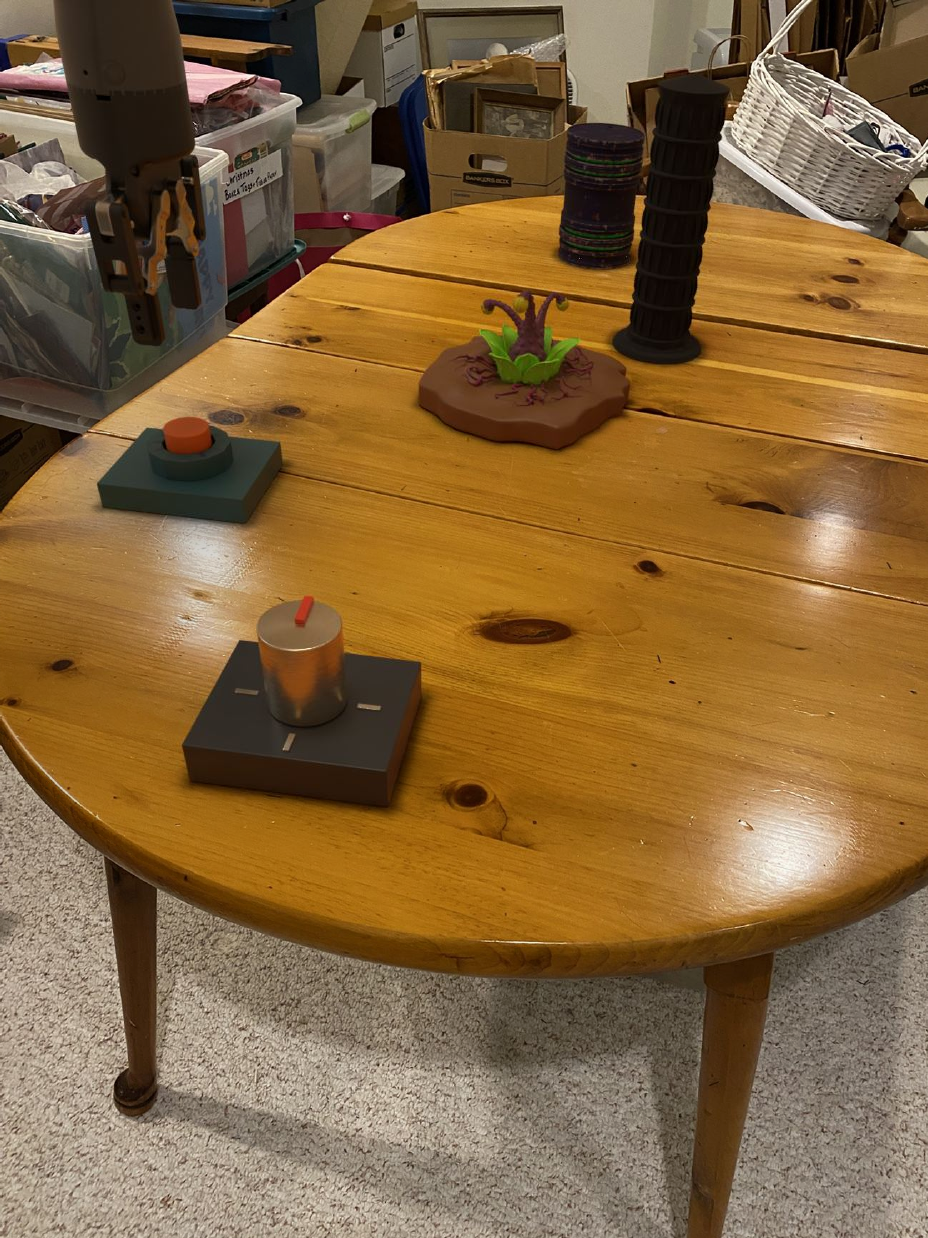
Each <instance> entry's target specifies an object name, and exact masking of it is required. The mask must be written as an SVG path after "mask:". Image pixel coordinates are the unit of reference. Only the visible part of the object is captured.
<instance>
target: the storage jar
mask: <svg viewBox="0 0 928 1238" xmlns="http://www.w3.org/2000/svg"><path fill="white" fill-rule="evenodd" d="M566 138H567V141H565V142H566V144H565V151H564V157H563V158H564V159H563V163H564V168H563V179H564V195H563V208H562V209H561V211H560V223H559V225H558V226H559V227H558V236H559V238H558V243H559V248H558V251H557V255H558V258H559V259H560V260H561V261H562V262H564V263H565V264H569V265H570V266H574V267H578V268H582V269H590V270H614V269H618V268H622V267H625V266H627V265H628V264H629V263H630V262H631V257H632V254H631V250H632V247H633V242H634V239H635V224H636V223H635V222H636V215H635V208H636V200H637V192H638V185H640V180H641V178H642V176H641V175H642V172H641V170H642V169H643V161H644V157H643V155H644V144H645V141H646V140H645V139H646V134H645V132H643V130H641V129H639V128H636V127H633V126H629V125H624V124H618V123H608V122H583V123H576V124H573V125H570V126H568V127H567V130H566ZM629 253H630V254H629ZM626 256H627V257H626ZM579 258H580V259H579Z"/></svg>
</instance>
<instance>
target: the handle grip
mask: <svg viewBox="0 0 928 1238" xmlns="http://www.w3.org/2000/svg"><path fill="white" fill-rule="evenodd" d="M657 87H658V94H659V98H658V100H657V102H656V105H655V112H654V125H655V127H654V128H653V129H652V131H651V133H652V135H653V138H652V141H651V143H650V151H649V159H650V163H649V164H648V166H647V170H648V175H647V177H646V183H645V197H644V199H643V205H644V208H643V210H642V215H641V223H640V224H641V230H640V231H639V238H640V240H639V243H638V248H637V261H636V263H635V269H636V272H635V274H634V278H633V291H632V294H631V299H632V300H633V301H632V304H631V306H630V311H629V322H630V323H629V324H628V325H627V327H624V328H622V329H620V330H619V331H616V333H615V334H614V336H613V338H611V343H612V344H611V345H612V346H613V348H614V349H615V350H616V351H617V352H619V353H620V354H621V355H623V356H625V357H627V358H630V359H633V360H637V361H640V362H644V363H645V362H646V363H652V364H661V365H670V364H671V365H672V364H673V365H674V364H681V363H686V362H690V361H693V360H694V359H697V358H698V357H699V356H700V355H701V354H702V350H703V349H702V345H701V342H700V341H699V339H697V337H695V336H694V335H693V334H691V330H690V328H691V326H692V323H693V307H694V306H695V305H696V299H695V297H696V295H697V291H698V286H699V283H698V281H699V280H698V279H699V278H698V277H699V276H700V273H701V270H700V266H701V264H702V263H703V262H702V261H703V256H704V253H703V249H704V248H703V245H704V244H705V243H706V237H705V235H706V233H707V230H708V227H709V226H708V225H709V211H711V209H712V206H711V203H710V202H711V200H712V198H713V195H714V190H715V189H714V187H715V186H714V178H715V177H716V175H717V170H716V168H717V166H718V163H719V158H720V153H721V152H720V142H721V141H722V140H723V135H722V130H723V128H724V127H725V123H726V116H727V113H726V112H727V111H726V105H725V104H726V101H727V99H728V96H729V94H730V92H731V87H729V86H728V85H727V84H724V83H721V82H719V81H716V80H714V79H711V78H708V77H706V76H704V75H702V74H698V73H691V74H686V75H682V76H681V75H680V76H677V77H671V78H667V79H662V80H659V81H658V82H657Z"/></svg>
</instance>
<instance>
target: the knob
mask: <svg viewBox="0 0 928 1238" xmlns="http://www.w3.org/2000/svg"><path fill="white" fill-rule="evenodd" d="M255 628H256V636H257V637H256V638H257V642H258V644H259V651H260V658H261V665H262V672H263V679H264V685H265V692H266V699H267V706H268V709H269V711H270V713H271V714H272V715H273V716H274V717H275V718H276V719H277V720H279V721H281V722H283V723H285V724H288V725H292V726H299V727H309V726H316V725H320V724H323V723H326V722H328V721H330V720H332V719H334V718H335V717H337V716H338V715H339V714H340V713H341V712H342V711H343V709H344V708H345V706H346V704H347V700H348V695H347V681H346V668H345V655H344V653H345V641H344V629H343V628H344V627H343V620H342V618H341V615H340V614H339V612H338V611H337V610H336V609H335V608H334V607H332V606H331V605H328V604H326V603H323V602H322V601H321V602H320V601H318V600H315V598H314V596H313V595H304V596H303V598H302V599H295V600H289V601H284V602H282V603H279V604H275V605H274V606H272V607H270V608H269V609H266V611H264V612H263V613H262V614H261V616H260V617H259V619H258V620H257V623H256V627H255Z"/></svg>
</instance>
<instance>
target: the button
mask: <svg viewBox="0 0 928 1238" xmlns="http://www.w3.org/2000/svg"><path fill="white" fill-rule="evenodd" d="M209 425H210V424H209V422H208V421H207V420H205V419H203V418H200V417H195V416H182V417H177V418H173V419H171V420H169V421H168V422H166V423H165V424H164V425H163V427H162V429H163V431H164V437H165V442H166V447H167V450H168V451H169V452H171V453H175V454H184V455H187V454H194V453H201V452H203V451H205V450H207V449H210V448H211V446H212V441H211V434H210V428H209Z"/></svg>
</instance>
